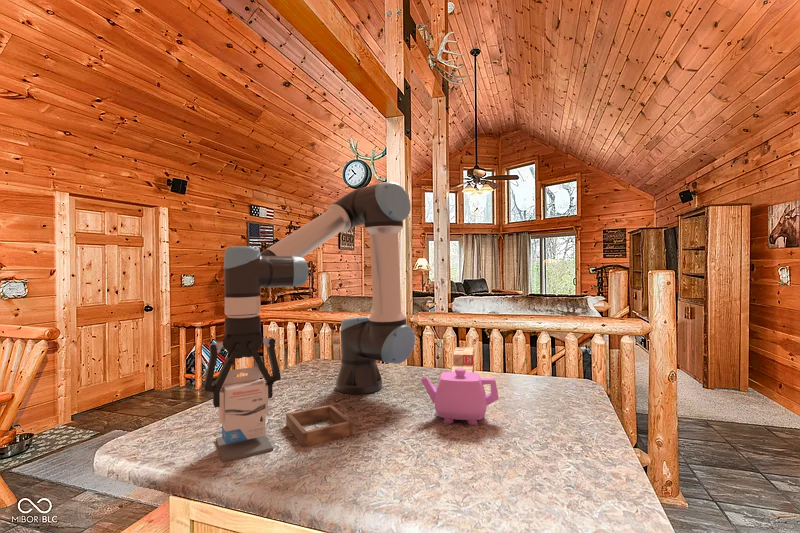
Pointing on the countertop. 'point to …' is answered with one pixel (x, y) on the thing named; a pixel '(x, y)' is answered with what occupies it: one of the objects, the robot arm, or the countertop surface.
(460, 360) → the stack of blocks
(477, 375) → the teapot
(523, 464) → the countertop surface
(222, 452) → the rubber mat
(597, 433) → the countertop surface
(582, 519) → the countertop surface
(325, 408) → the walnut frame
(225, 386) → the ink box
